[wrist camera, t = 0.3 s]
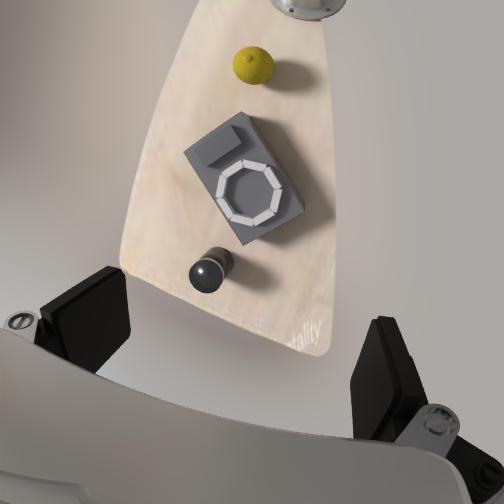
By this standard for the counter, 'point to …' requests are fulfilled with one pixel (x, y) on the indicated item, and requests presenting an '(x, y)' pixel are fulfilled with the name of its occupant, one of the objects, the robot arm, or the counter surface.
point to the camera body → (245, 178)
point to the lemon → (253, 65)
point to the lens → (211, 270)
